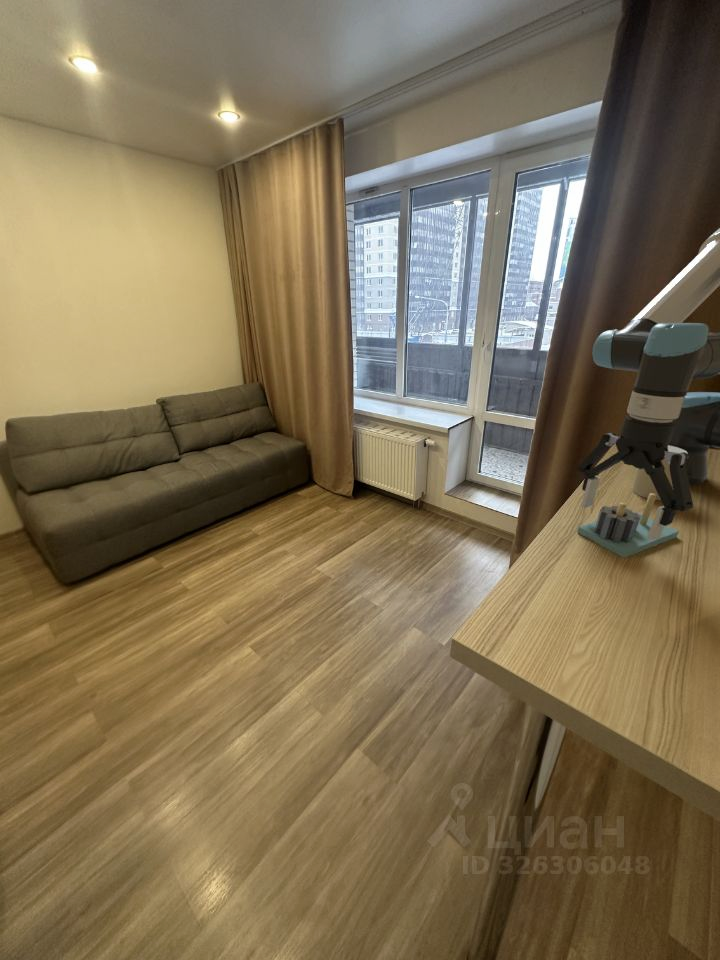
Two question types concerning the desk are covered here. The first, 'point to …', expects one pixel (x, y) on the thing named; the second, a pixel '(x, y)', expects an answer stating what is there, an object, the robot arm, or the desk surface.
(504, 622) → the desk surface
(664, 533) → the carrier
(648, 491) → the coffee cup
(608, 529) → the gear
